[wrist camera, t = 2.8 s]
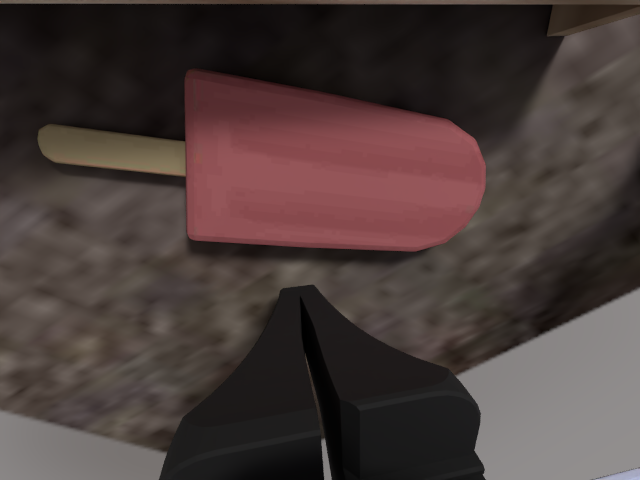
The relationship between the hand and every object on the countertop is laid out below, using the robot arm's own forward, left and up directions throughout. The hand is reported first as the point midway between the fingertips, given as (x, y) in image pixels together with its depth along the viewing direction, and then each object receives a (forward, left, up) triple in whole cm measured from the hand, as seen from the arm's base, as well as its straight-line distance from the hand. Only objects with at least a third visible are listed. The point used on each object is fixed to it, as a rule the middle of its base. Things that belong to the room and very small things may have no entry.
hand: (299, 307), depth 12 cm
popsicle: (0, -5, -2) cm, 6 cm away
